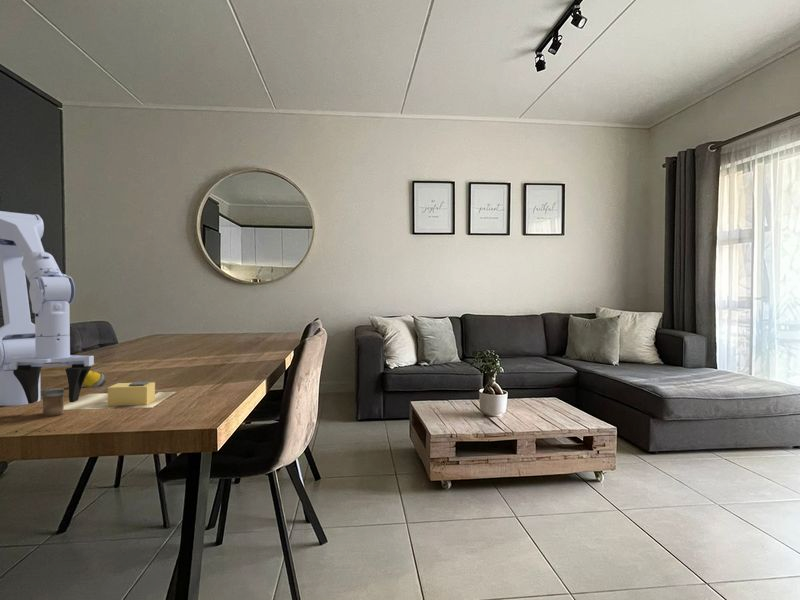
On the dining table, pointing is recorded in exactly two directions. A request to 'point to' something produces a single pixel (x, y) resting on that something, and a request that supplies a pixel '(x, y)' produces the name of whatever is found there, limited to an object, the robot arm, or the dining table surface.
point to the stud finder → (131, 393)
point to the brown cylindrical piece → (53, 401)
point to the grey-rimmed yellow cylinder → (94, 379)
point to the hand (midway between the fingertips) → (53, 401)
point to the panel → (102, 402)
